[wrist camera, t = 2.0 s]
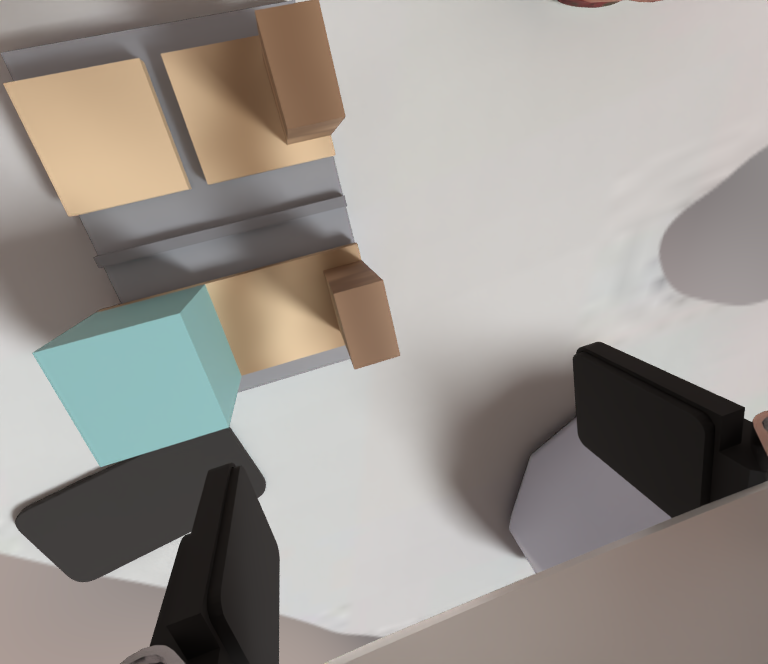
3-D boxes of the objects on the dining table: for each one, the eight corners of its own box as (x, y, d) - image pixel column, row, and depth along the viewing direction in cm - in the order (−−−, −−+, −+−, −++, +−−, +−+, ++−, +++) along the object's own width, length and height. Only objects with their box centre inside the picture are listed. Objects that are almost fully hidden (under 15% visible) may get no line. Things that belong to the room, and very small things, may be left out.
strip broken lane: (303, 32, 21) (310, -35, 15) (333, 155, 23) (351, 143, 17) (165, 58, 20) (111, 0, 14) (210, 184, 22) (180, 182, 16)
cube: (205, 284, 23) (179, 313, 18) (241, 375, 25) (229, 427, 20) (94, 313, 22) (32, 353, 17) (141, 405, 25) (100, 467, 19)
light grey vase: (646, 562, 44) (879, 803, 27) (483, 572, 39) (640, 878, 22) (722, 396, 39) (1078, 564, 21) (543, 381, 34) (820, 588, 16)
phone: (272, 492, 31) (79, 588, 30) (272, 485, 31) (85, 578, 30) (220, 416, 28) (5, 519, 27) (221, 410, 29) (12, 510, 27)
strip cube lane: (355, 242, 25) (378, 259, 19) (377, 331, 27) (404, 372, 21) (100, 309, 23) (32, 353, 17) (146, 399, 25) (100, 467, 19)
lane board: (294, 8, 22) (295, -10, 20) (378, 344, 29) (384, 355, 27) (13, 59, 20) (-16, 45, 18) (177, 404, 27) (169, 420, 25)
